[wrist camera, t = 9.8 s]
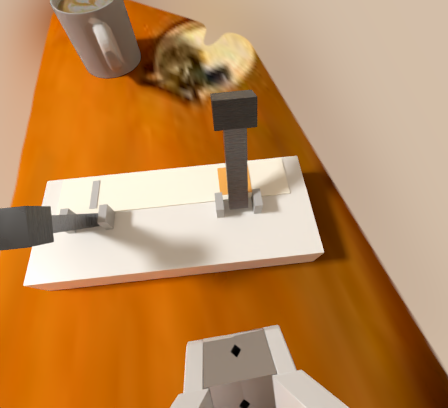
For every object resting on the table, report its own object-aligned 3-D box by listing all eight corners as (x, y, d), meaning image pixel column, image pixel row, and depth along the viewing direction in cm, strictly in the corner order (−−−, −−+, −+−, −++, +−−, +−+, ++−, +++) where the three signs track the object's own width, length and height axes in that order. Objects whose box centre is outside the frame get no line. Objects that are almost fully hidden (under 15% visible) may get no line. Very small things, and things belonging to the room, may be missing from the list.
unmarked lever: (107, 230, 27) (29, 247, 16) (73, 234, 27) (-30, 253, 16) (105, 206, 27) (25, 206, 16) (71, 210, 27) (-34, 212, 16)
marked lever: (256, 210, 26) (257, 96, 20) (222, 213, 26) (211, 101, 20) (252, 196, 28) (251, 89, 22) (220, 199, 28) (210, 93, 22)
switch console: (312, 261, 29) (331, 246, 24) (49, 290, 28) (7, 282, 23) (290, 173, 34) (301, 145, 29) (67, 196, 34) (35, 172, 28)
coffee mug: (85, 47, 48) (51, -18, 38) (138, 38, 48) (117, -28, 39) (85, 96, 42) (45, 34, 33) (145, 85, 43) (122, 21, 34)
